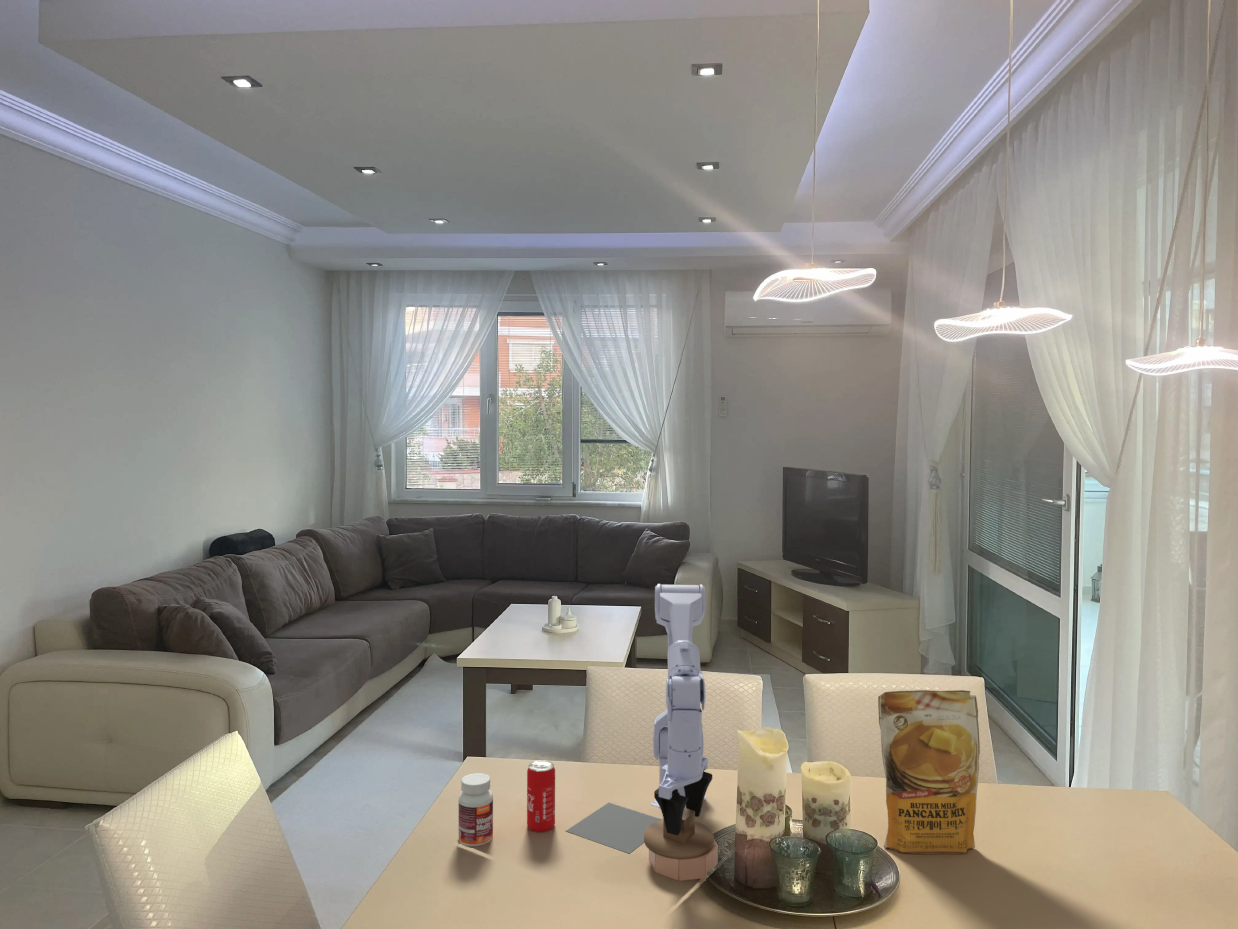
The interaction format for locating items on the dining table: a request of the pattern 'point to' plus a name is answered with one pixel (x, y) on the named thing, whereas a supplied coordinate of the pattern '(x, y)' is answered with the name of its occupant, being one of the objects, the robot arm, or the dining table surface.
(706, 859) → the bowl
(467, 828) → the pill bottle
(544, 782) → the beverage can
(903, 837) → the pancake mix bag
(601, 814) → the mat
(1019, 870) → the dining table surface
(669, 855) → the brown disc
